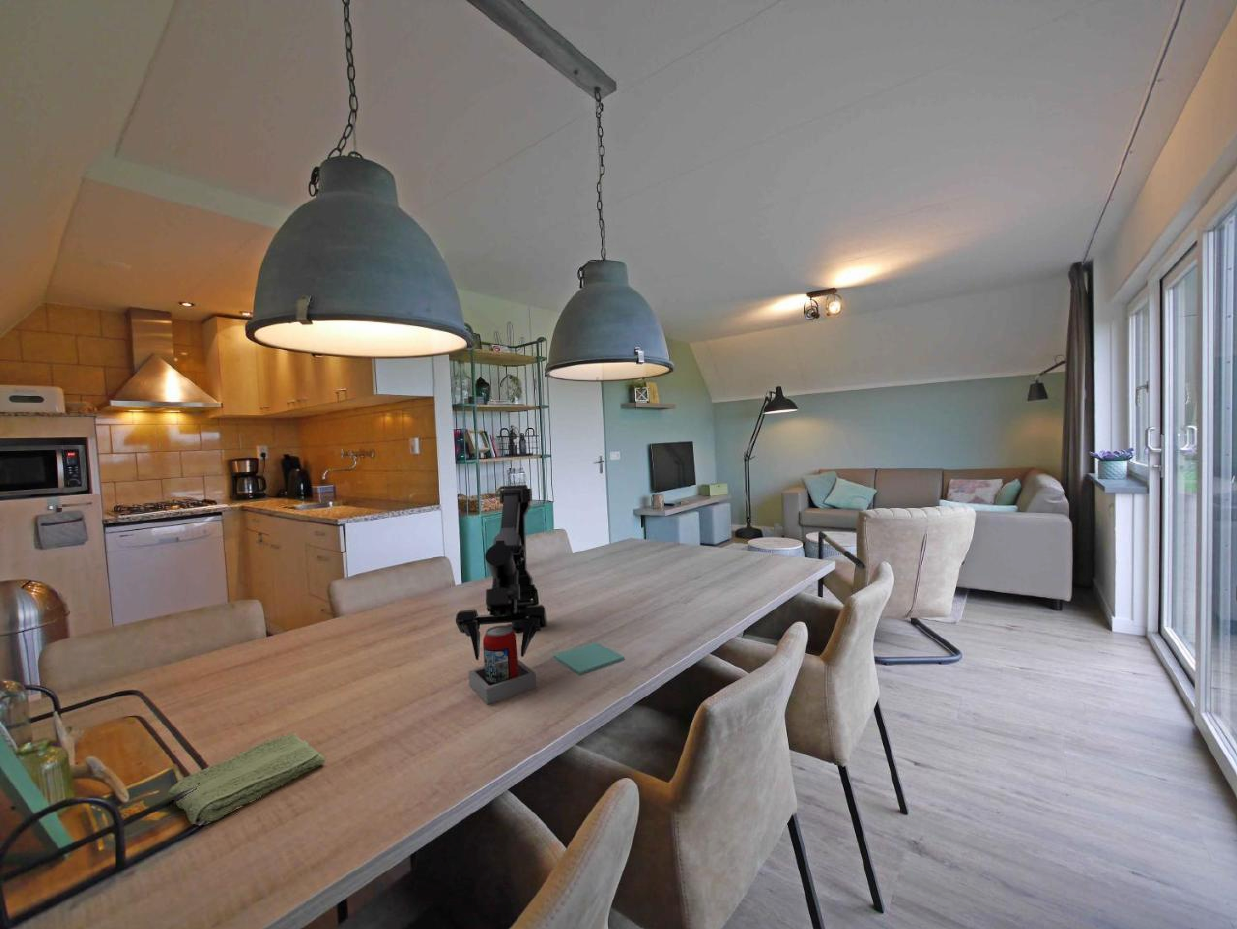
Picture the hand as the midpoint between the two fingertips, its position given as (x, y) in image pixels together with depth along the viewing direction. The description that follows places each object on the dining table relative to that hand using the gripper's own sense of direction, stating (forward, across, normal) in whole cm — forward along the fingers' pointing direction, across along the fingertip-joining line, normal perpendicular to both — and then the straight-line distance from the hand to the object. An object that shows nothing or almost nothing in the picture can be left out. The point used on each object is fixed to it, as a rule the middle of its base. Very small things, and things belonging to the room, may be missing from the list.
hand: (499, 657), depth 107 cm
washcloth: (+22, -35, -12) cm, 43 cm away
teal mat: (-4, +18, +13) cm, 23 cm away
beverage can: (+4, 0, +6) cm, 7 cm away
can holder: (+4, 0, +6) cm, 7 cm away
